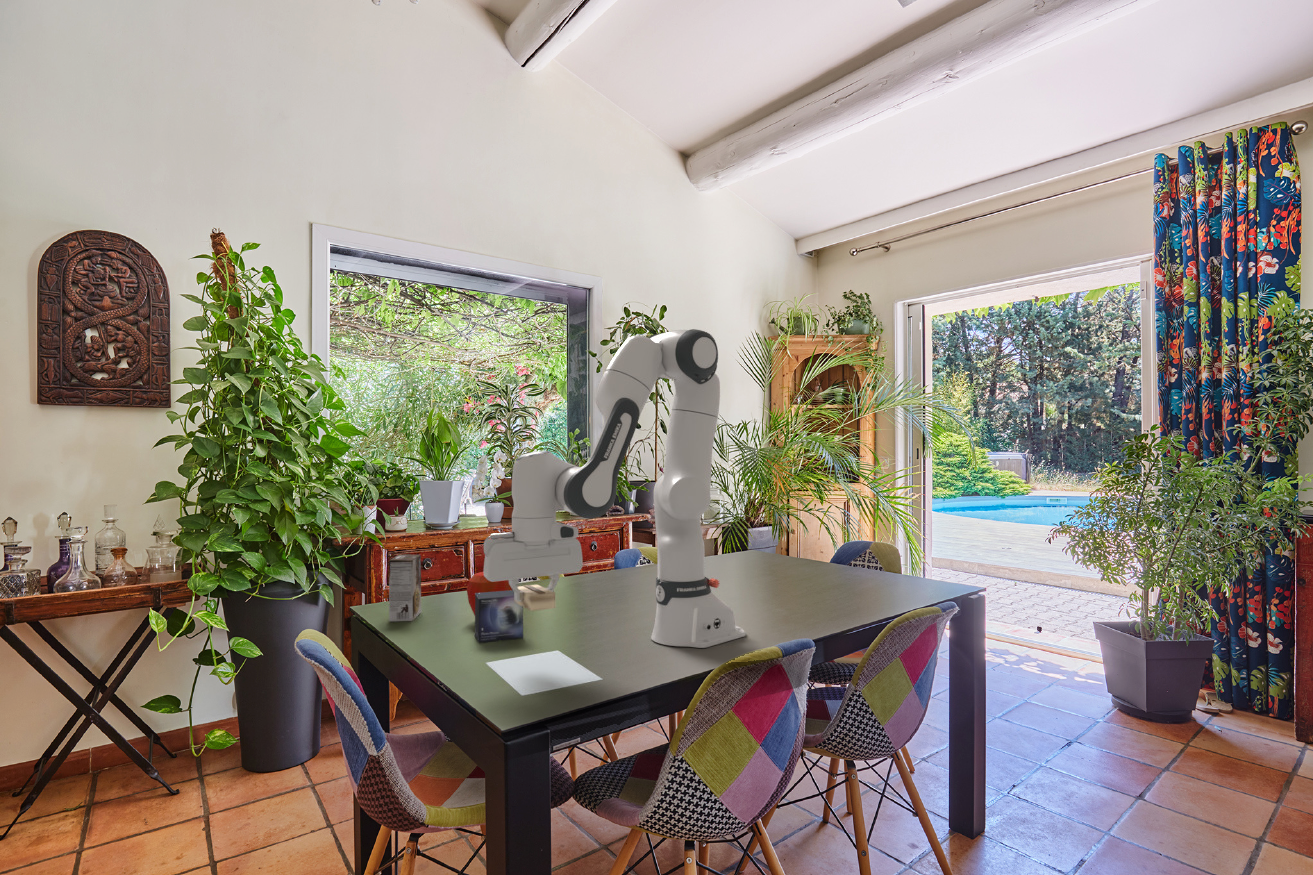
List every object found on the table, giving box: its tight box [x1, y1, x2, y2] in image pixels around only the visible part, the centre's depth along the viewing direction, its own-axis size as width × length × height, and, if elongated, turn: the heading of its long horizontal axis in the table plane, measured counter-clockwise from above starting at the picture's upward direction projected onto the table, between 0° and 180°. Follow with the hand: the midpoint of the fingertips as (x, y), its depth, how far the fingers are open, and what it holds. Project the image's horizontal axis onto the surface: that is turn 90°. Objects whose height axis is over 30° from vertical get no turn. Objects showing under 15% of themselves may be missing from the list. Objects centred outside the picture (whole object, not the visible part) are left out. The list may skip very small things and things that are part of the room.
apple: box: [466, 570, 512, 616], centre depth 175 cm, size 12×12×14 cm
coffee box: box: [388, 554, 422, 622], centre depth 181 cm, size 9×6×16 cm
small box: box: [473, 590, 524, 644], centre depth 160 cm, size 11×6×10 cm, turn 114°
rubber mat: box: [485, 650, 604, 696], centre depth 134 cm, size 16×22×1 cm
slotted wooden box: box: [514, 584, 556, 612], centre depth 137 cm, size 10×5×3 cm, turn 31°
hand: (534, 598), depth 137 cm, fingers closed on slotted wooden box, 5 cm apart
